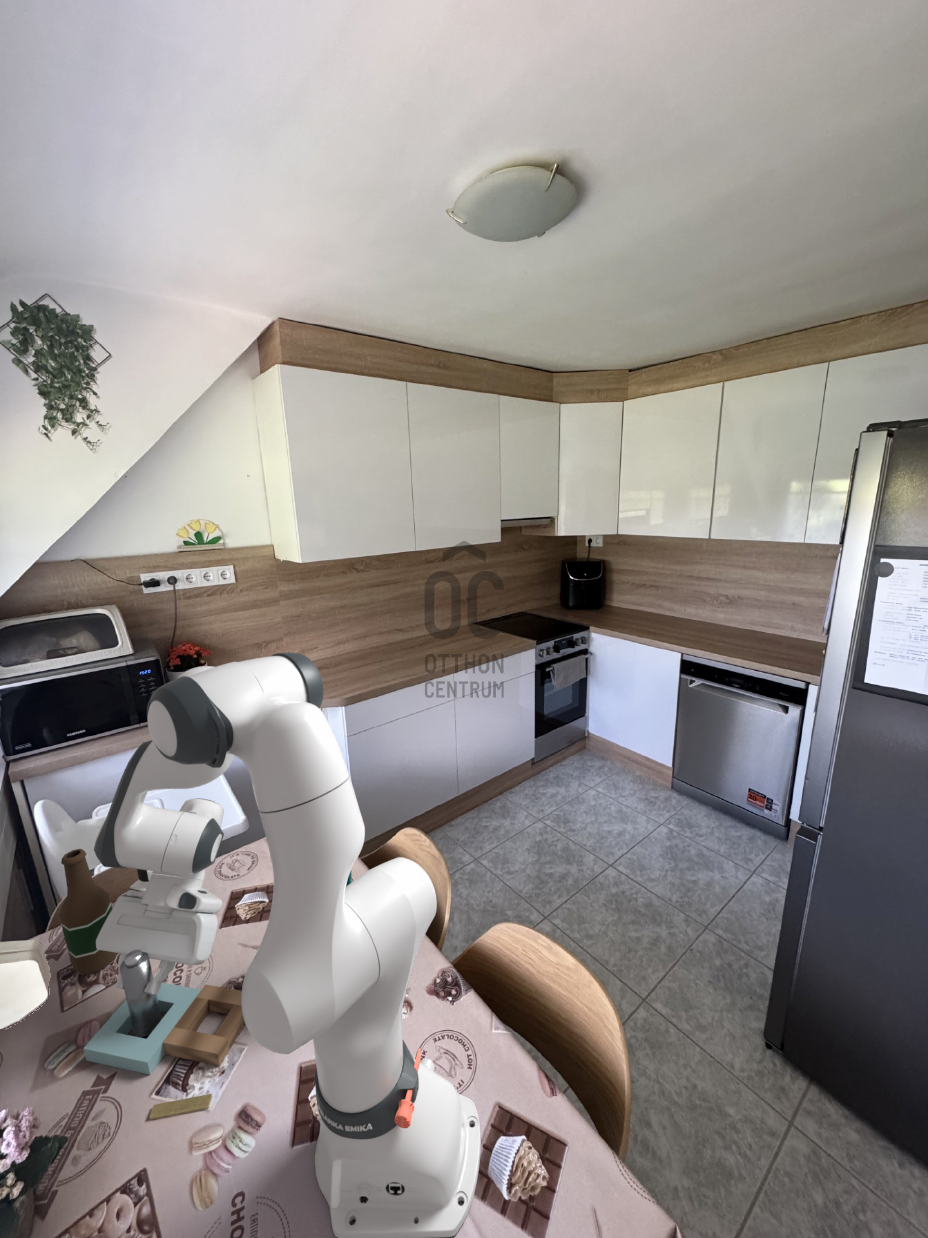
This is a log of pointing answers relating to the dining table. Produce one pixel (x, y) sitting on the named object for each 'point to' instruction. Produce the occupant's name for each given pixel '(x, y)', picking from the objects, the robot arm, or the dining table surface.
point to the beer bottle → (84, 915)
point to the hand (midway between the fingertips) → (136, 991)
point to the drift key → (180, 1106)
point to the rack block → (135, 1051)
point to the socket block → (202, 1045)
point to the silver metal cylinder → (139, 993)
